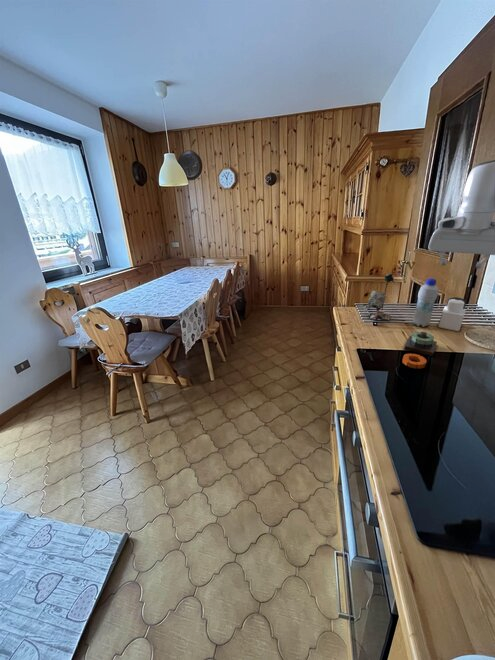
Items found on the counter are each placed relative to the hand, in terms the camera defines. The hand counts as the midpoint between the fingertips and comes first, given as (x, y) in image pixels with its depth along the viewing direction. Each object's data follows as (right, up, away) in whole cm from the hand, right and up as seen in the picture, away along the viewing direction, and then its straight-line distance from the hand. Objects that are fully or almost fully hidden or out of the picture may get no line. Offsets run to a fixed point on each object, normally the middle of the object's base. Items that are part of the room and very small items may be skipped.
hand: (460, 266), depth 92 cm
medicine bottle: (+14, -19, +25) cm, 34 cm away
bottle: (+4, -19, +28) cm, 33 cm away
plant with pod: (-10, -15, +36) cm, 41 cm away
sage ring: (-6, -24, +10) cm, 27 cm away
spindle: (-6, -27, +12) cm, 30 cm away
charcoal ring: (-6, -26, +11) cm, 29 cm away
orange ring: (-13, -32, +4) cm, 35 cm away
